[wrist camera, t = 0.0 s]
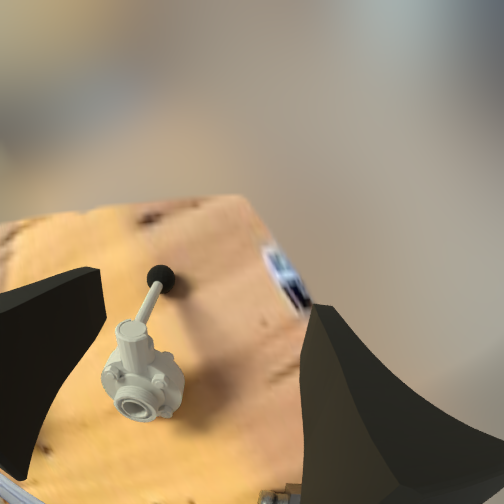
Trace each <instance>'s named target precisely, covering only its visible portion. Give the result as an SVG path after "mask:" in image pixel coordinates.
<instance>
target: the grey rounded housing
mask: <svg viewBox="0 0 504 504" xmlns="http://www.w3.org/2000/svg"><path fill="white" fill-rule="evenodd" d="M147 283H148V286H149V287H150V290H149V292H148V294H147V296H146V298H145V300H144V302H143V304H142V306H141V308H140V310H139V312H138V314H137V316H136V318H135V320H134V321H131V319H127V320H125V321H123V322H121V323H119V324H118V325H117V327H116V329H115V334H116V339H117V344H118V346H117V348H116V350H114V351H113V352H112V353H111V355H110V357H109V359H108V361H107V363H106V365H105V367H104V369H103V371H102V374H101V381H102V385H103V387H104V389H105V391H106V392H107V394H108V395H109V396H110V397H111V398H112V399H113V400H114V406H115V407H116V409H117V410H118V411H119V412H120V413H121V414H122V415H124V416H125V417H127V418H129V419H131V420H134V421H138V422H150V421H153V420H154V419H155V418H156V416H161V417H163V418H171V417H172V415H173V412H175V411H176V410H177V409H178V408H179V407H180V405H181V402H182V396H183V391H184V386H185V379H184V375H183V373H182V371H181V369H180V368H179V366H178V365H177V364H176V363H175V362H174V361H173V360H174V356H173V354H171V353H170V352H162V353H161V352H160V351H157V350H155V349H154V343H153V339H152V338H151V337H150V336H149V335H148V333H147V327H146V323H147V321H148V319H149V317H150V314H151V312H152V310H153V308H154V305H155V303H156V301H157V299H158V297H159V294H163V293H167V292H168V291H170V290H171V289H172V288H173V286H174V284H175V275H174V273H173V271H172V270H171V269H170V268H169V267H167V266H165V265H156V266H154V267H153V268H151V270H150V271H149V272H148V274H147Z"/></svg>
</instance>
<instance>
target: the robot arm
mask: <svg viewBox="0 0 504 504" xmlns="http://www.w3.org/2000/svg"><path fill="white" fill-rule="evenodd" d="M106 319H107V316H106V310H105V304H104V297H103V290H102V283H101V275H100V269H96V268H91V267H81V268H77V269H73V270H70V271H67V272H64V273H61V274H58V275H55V276H52V277H49V278H46V279H43V280H41V281H38V282H35V283H32V284H29V285H26V286H23V287H20V288H17V289H14V290H11V291H7V292H4V293H0V468H1V469H2V470H4V471H5V472H6V473H8V474H9V475H10V476H12V477H13V478H15V479H16V480H17V481H24V480H26V479H27V474H28V469H29V465H30V461H31V457H32V453H33V449H34V446H35V443H36V440H37V438H38V435H39V432H40V429H41V427H42V424H43V422H44V420H45V417H46V415H47V413H48V410H49V408H50V406H51V404H52V402H53V400H54V399H55V397H56V395H57V393H58V391H59V389H60V388H61V386H62V385H63V383H64V381H65V380H66V379H67V377H68V376H69V374H70V373H71V372H72V370H73V369H74V368H75V366H76V365H77V364H78V362H79V361H80V360H81V358H82V357H83V356H84V354H85V353H86V351H87V350H88V349H89V347H90V346H91V345H92V343H93V342H94V341H95V339H96V337H97V336H98V334H99V332H100V330H101V328H102V326H103V325H104V323H105V321H106ZM299 382H300V394H301V407H302V419H303V432H304V461H303V477H302V488H301V499H300V504H483V503H484V502H485V501H487V500H488V499H489V498H491V497H492V496H493V495H495V494H496V493H497V492H498V491H500V490H501V489H502V488H503V487H504V441H503V440H501V439H498V438H496V437H493V436H491V435H488V434H486V433H483V432H481V431H479V430H477V429H474V428H472V427H470V426H468V425H466V424H464V423H463V422H461V421H459V420H457V419H455V418H454V417H452V416H450V415H448V414H446V413H445V412H443V411H442V410H440V409H439V408H437V407H435V406H434V405H433V404H431V403H430V402H428V401H427V400H425V399H424V398H423V397H421V396H420V395H418V394H417V393H416V392H414V391H413V390H412V389H411V388H409V387H408V386H407V385H406V384H405V383H403V382H402V381H401V380H400V379H399V378H398V377H396V376H395V375H394V374H393V373H392V372H391V371H390V370H389V369H388V368H387V367H385V365H383V364H382V362H381V361H380V360H379V359H378V358H377V357H375V355H374V354H373V353H372V352H371V351H370V350H369V349H368V348H367V347H366V346H365V344H364V343H363V342H362V341H361V340H360V339H359V338H358V336H357V335H356V334H355V333H354V332H353V330H352V329H351V328H350V327H349V326H348V324H347V323H346V322H345V321H344V319H343V318H342V317H341V316H340V315H339V313H338V312H337V311H336V310H335V308H334V307H333V306H328V305H320V304H313V307H312V311H311V315H310V319H309V323H308V327H307V331H306V335H305V339H304V342H303V346H302V350H301V354H300V377H299ZM0 497H2V498H3V499H4V500H6V501H7V502H8V503H10V504H45V503H44V502H42V501H40V500H39V499H37V498H36V497H34V496H32V495H31V494H29V493H28V492H26V491H25V490H23V489H22V488H20V487H19V486H18V485H16V484H15V483H13V482H12V481H11V480H9V479H8V478H7V477H5V476H4V475H3V474H1V473H0Z"/></svg>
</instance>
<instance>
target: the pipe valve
mask: <svg viewBox="0 0 504 504" xmlns="http://www.w3.org/2000/svg"><path fill="white" fill-rule="evenodd" d="M301 488H302V484H288V483H286V488H285V493H284V494H281V493H275V492H274V491H268V490H261V491H260V495H259V499H258V504H300V499H301Z"/></svg>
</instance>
